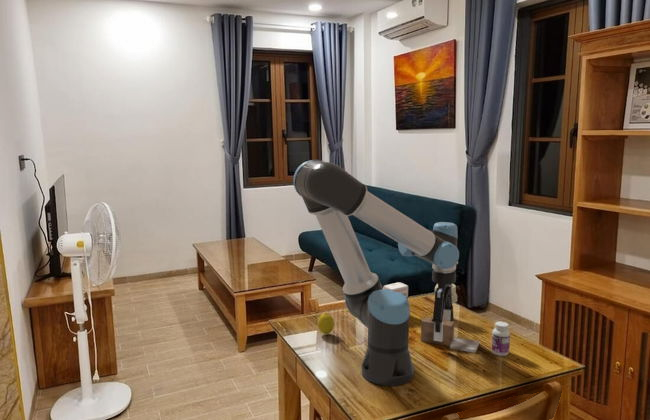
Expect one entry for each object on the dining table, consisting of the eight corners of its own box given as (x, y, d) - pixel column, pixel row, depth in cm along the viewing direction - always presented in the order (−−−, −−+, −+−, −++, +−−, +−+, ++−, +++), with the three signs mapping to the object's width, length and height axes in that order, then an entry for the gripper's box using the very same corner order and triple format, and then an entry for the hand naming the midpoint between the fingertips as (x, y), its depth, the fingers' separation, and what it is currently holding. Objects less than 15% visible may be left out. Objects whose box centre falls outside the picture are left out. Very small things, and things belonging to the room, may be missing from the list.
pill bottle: (487, 350, 159) (489, 321, 158) (501, 347, 161) (502, 319, 159) (499, 357, 154) (500, 328, 153) (512, 354, 156) (514, 325, 154)
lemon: (334, 331, 174) (334, 310, 173) (333, 338, 169) (333, 316, 167) (318, 331, 175) (318, 309, 173) (316, 337, 169) (316, 315, 168)
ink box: (391, 319, 185) (391, 289, 183) (382, 315, 189) (382, 285, 188) (408, 314, 190) (408, 285, 188) (399, 310, 194) (399, 281, 192)
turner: (419, 342, 165) (420, 322, 164) (425, 335, 171) (425, 315, 170) (475, 353, 157) (476, 332, 156) (479, 344, 164) (480, 324, 163)
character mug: (427, 316, 188) (428, 283, 186) (441, 312, 192) (442, 280, 190) (448, 325, 179) (450, 291, 177) (462, 321, 183) (464, 287, 181)
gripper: (448, 281, 149) (445, 350, 153) (462, 262, 170) (460, 323, 174) (423, 278, 153) (421, 345, 156) (440, 260, 173) (438, 320, 177)
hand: (442, 334), depth 165 cm, fingers open, 11 cm apart
